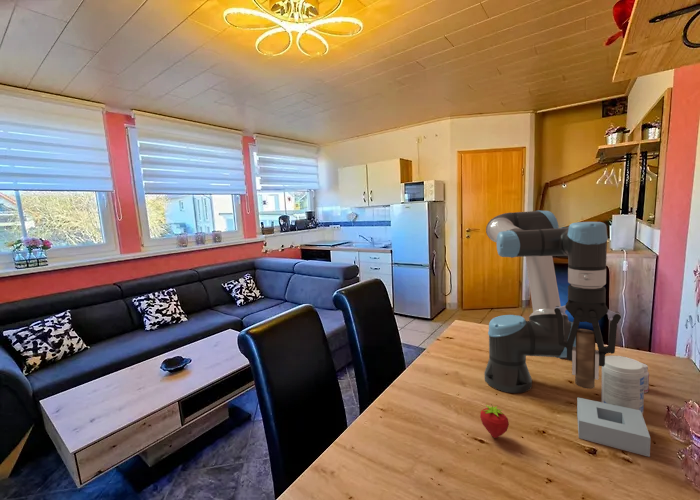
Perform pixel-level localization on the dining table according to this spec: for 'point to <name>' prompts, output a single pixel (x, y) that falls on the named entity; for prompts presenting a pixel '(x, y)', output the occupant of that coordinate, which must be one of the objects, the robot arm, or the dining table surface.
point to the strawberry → (494, 421)
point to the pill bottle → (646, 378)
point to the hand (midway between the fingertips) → (585, 374)
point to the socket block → (613, 426)
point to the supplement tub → (623, 382)
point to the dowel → (585, 358)
